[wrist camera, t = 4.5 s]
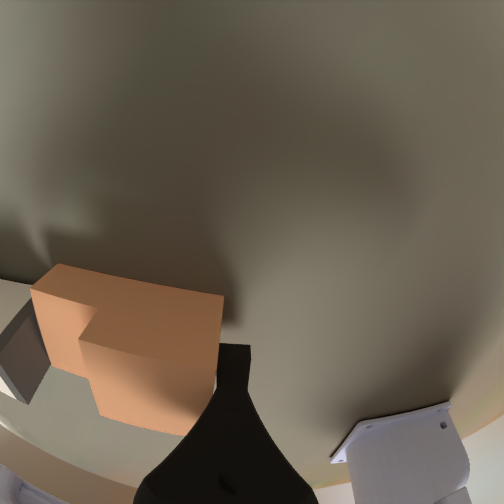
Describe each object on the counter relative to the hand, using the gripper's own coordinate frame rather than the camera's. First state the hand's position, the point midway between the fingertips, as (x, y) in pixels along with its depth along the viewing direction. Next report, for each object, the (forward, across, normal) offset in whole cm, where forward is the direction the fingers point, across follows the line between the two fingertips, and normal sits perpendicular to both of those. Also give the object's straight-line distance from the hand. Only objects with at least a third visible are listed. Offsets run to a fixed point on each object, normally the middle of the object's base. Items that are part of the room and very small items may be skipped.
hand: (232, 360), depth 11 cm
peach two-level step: (+2, +5, 0) cm, 5 cm away
